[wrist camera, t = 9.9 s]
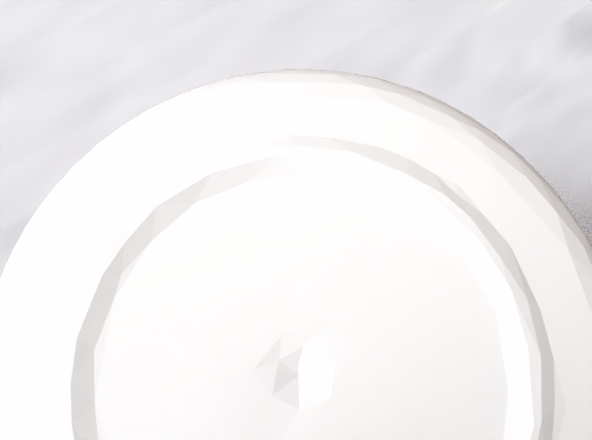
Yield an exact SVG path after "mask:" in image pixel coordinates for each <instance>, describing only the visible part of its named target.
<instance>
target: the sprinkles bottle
mask: <svg viewBox="0 0 592 440" xmlns="http://www.w3.org/2000/svg"><path fill="white" fill-rule="evenodd" d="M0 440H592V246H591V244H590V242H589V241H588V239H587V237H586V236H585V234H584V232H583V231H582V229H581V228H580V226H579V224H578V223H577V221H576V219H575V218H574V216H573V215H572V213H571V212H570V211H569V209H568V208H567V207H566V205H565V204H564V203H563V201H562V200H561V199H560V197H559V196H558V194H557V193H556V192H555V190H554V189H553V188H552V187H551V186H550V185H549V183H548V182H547V181H546V180H545V179H544V178H543V177H542V176H541V175H540V174H539V173H538V172H537V171H536V170H535V169H534V168H533V167H532V166H531V165H530V164H529V163H528V162H527V161H526V160H525V158H524V157H523V156H522V155H520V154H519V153H518V152H517V151H515V150H514V149H513V148H512V147H511V146H509V145H508V144H507V143H506V142H505V141H503V140H502V139H501V138H500V137H499V136H497V135H496V134H495V133H493V132H492V131H490V130H489V129H487V128H486V127H485V126H483V125H482V124H480V123H479V122H477V121H476V120H474V119H473V118H471V117H470V116H468V115H466V114H464V113H462V112H461V111H459V110H457V109H455V108H453V107H451V106H449V105H448V104H446V103H444V102H442V101H440V100H438V99H436V98H434V97H432V96H429V95H427V94H425V93H422V92H420V91H417V90H414V89H411V88H408V87H405V86H402V85H398V84H395V83H392V82H388V81H385V80H381V79H378V78H374V77H369V76H363V75H358V74H352V73H347V72H340V71H326V70H312V69H286V70H278V71H269V72H261V73H252V74H245V75H240V76H236V77H231V78H227V79H222V80H218V81H215V82H212V83H209V84H206V85H203V86H200V87H197V88H194V89H191V90H189V91H186V92H184V93H182V94H179V95H177V96H175V97H173V98H171V99H169V100H167V101H165V102H163V103H160V104H158V105H156V106H154V107H152V108H150V109H148V110H147V111H145V112H144V113H142V114H140V115H139V116H137V117H135V118H134V119H132V120H131V121H129V122H127V123H126V124H124V125H123V126H121V127H120V128H119V129H117V130H116V131H115V132H113V133H112V134H111V135H109V136H108V137H107V138H105V139H104V140H103V141H101V142H100V143H99V144H97V145H96V146H95V147H94V148H93V149H92V150H91V151H90V152H89V153H88V154H87V155H85V156H84V157H83V158H82V159H81V160H80V161H79V162H78V163H77V164H76V165H74V166H73V167H72V169H71V170H70V171H69V172H68V173H67V174H66V175H65V176H64V178H63V179H62V180H61V181H60V182H59V183H58V184H57V185H56V187H55V188H54V189H53V190H52V191H51V192H50V193H49V195H48V196H47V197H46V199H45V200H44V202H43V203H42V204H41V206H40V207H39V208H38V210H37V211H36V212H35V214H34V215H33V217H32V218H31V220H30V221H29V223H28V224H27V226H26V228H25V230H24V231H23V233H22V235H21V237H20V239H19V241H18V242H17V244H16V246H15V248H14V250H13V252H12V254H11V256H10V258H9V260H8V262H7V265H6V267H5V269H4V271H3V274H2V276H1V278H0Z"/></svg>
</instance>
